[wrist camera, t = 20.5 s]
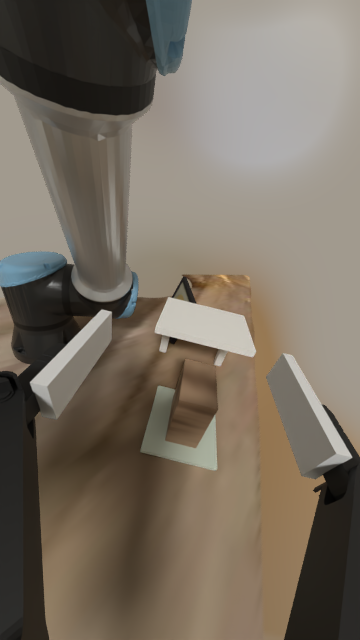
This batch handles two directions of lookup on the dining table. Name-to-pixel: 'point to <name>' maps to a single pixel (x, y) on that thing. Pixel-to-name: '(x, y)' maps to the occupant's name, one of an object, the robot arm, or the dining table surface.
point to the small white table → (205, 328)
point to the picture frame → (183, 296)
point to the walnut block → (192, 404)
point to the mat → (159, 447)
